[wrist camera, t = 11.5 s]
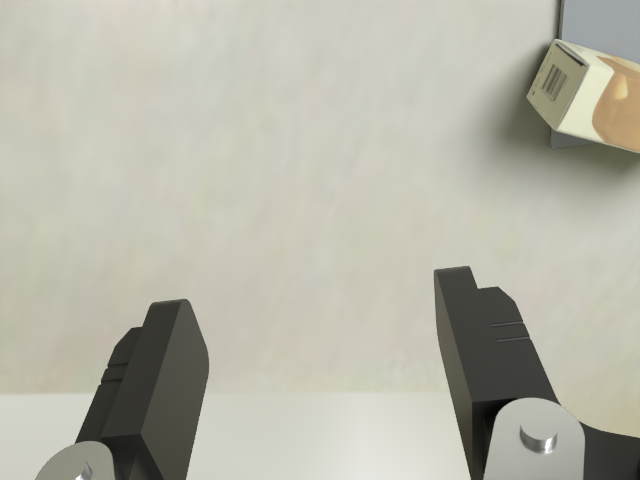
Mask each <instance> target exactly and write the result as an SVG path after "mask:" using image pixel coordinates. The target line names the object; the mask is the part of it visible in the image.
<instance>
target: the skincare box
mask: <svg viewBox="0 0 640 480" xmlns="http://www.w3.org/2000/svg"><path fill="white" fill-rule="evenodd" d="M527 99H528V100H529V102H530V103H531V104H532V106H533V107H534V108H535V109H536V111H537V112H538V113H539V114H540V115H541V117H542V118H543V119H544V120H545V121H546V122H547V123H548V124H549V125H550V127H552V128H553V130H555V131H557V132H560V133H564V134H568V135H572V136H575V137H579V138H583V139H587V140H591V141H594V142H598V143H602V144H605V145H609V146H613V147H617V148H620V149H624V150H628V151H631V152H635V153H639V154H640V64H639V63H636V62H633V61H629V60H626V59H623V58H619V57H616V56H612V55H609V54H606V53H602V52H599V51H596V50H592V49H589V48H586V47H582V46H579V45H576V44H572V43H569V42H566V41H562V40H559V39H554V40H553V42H552V44H551V46H550V48H549V51H548V53H547V55H546V57H545V59H544V61H543V63H542V65H541V67H540V69H539V71H538V73H537V76H536V78H535V80H534V82H533V84H532V86H531V88H530V90H529V92H528V94H527Z"/></svg>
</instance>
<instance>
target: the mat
mask: <svg viewBox="0 0 640 480" xmlns="http://www.w3.org/2000/svg"><path fill="white" fill-rule="evenodd" d="M558 39H559V40H562V41H566V42H569V43H572V44H576V45H579V46H582V47H586V48H589V49H592V50H596V51H599V52H602V53H606V54H609V55H612V56H616V57H619V58H623V59H626V60H629V61H633V62H636V63H639V64H640V0H561V10H560V22H559V35H558ZM596 143H598V142H594V141H591V140H587V139H583V138H579V137H575V136H572V135H568V134H564V133H560V132H557V131H555V130H553V128H552V127H551V135H550V147H551V148H552V149H559V148H566V147H574V146H581V145H588V144H596Z"/></svg>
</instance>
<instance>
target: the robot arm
mask: <svg viewBox="0 0 640 480" xmlns="http://www.w3.org/2000/svg"><path fill="white" fill-rule="evenodd" d="M434 289H435V308H436V325H437V334H438V341H439V347H440V351H441V356H442V360H443V364H444V368H445V372H446V377H447V381H448V385H449V389H450V393H451V397H452V402H453V406H454V410H455V414H456V418H457V422H458V427H459V431H460V435H461V439H462V443H463V447H464V451H465V456H466V460H467V464H468V468H469V473H470V477H471V480H640V438H637V437H631V436H626V435H620V434H614V433H609V432H605V431H600V430H597V429H595V428H592V427H589V426H587V425H585V424H583V423H581V422H580V421H578V420H577V419H576V417H575V416H574V415H573V414H572V413H571V412H569V411H568V410H567V409H565V408H564V407H562V406H561V404H560V403H559V402H558V400H557V398H556V396H555V394H554V391H553V389H552V387H551V384H550V382H549V380H548V377H547V375H546V373H545V370H544V368H543V366H542V363H541V361H540V359H539V357H538V354H537V352H536V350H535V347H534V345H533V343H532V340H530V337H529V333H528V331H527V329H526V326H525V324H523V319H522V317H521V315H520V312H519V310H518V308H517V305H516V303H515V301H514V300H512V299H511V298H510V297H509V296H508V295H507V294H506V293H505V292H503V291H502V290H501V289H500V288H499V287H489V288H481V289H478V288H477V285H476V282H475V279H474V277H473V274H472V271H471V269H470V267H469V266H462V267H454V268H445V269H437V270H434ZM208 374H209V358H208V351H207V347H206V344H205V342H204V339H203V336H202V334H201V331H200V328H199V325H198V323H197V320H196V317H195V314H194V312H193V309H192V306H191V304H190V302H189V301H188V300H187V299H179V300H171V301H162V302H154V303H152V304H151V305H150V307H149V310H148V313H147V315H146V318H145V321H144V323H143V326H142V327H136V328H131V329H130V330H129V331H128V332H127V333H126V335H125V336H124V337H123V338H122V339H121V340H120V341H119V342H118V344H117V345H116V346H115V348H114V350H113V353H112V355H111V358H110V360H109V362H108V369H106V370H105V372H104V374H103V377H102V379H101V385H99V386H98V389H97V391H96V394H95V396H94V399H93V401H92V404H91V406H90V408H89V411H88V413H87V416H86V418H85V420H84V422H83V425H82V427H81V430H80V432H79V435H78V437H77V439H76V442H75V444H73V445H71V446H69V447H67V448H65V449H63V450H61V451H60V452H58V453H57V454H56V455H54V456H53V457H52V458H51V459H50V460H49V461H48V462H47V463H46V464H45V465H44V466H43V467H42V469H41V470H40V472H39V473H38V475H37V477H36V479H35V480H186V476H187V472H188V467H189V462H190V457H191V453H192V448H193V444H194V439H195V434H196V430H197V425H198V420H199V416H200V411H201V407H202V402H203V397H204V393H205V388H206V383H207V379H208Z"/></svg>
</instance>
